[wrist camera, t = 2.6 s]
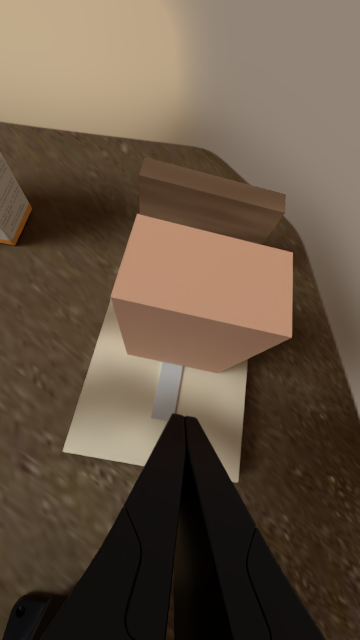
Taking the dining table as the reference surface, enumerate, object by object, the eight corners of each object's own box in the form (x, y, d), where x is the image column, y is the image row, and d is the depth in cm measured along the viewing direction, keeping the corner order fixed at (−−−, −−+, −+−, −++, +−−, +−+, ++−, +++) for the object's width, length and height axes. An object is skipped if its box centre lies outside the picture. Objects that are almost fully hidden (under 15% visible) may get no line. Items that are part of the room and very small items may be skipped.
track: (230, 477, 18) (298, 529, 10) (69, 448, 17) (6, 481, 9) (249, 264, 25) (298, 198, 17) (134, 236, 24) (130, 153, 16)
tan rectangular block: (217, 373, 19) (291, 337, 9) (127, 354, 18) (110, 296, 9) (223, 325, 20) (292, 252, 11) (139, 306, 20) (137, 213, 10)
